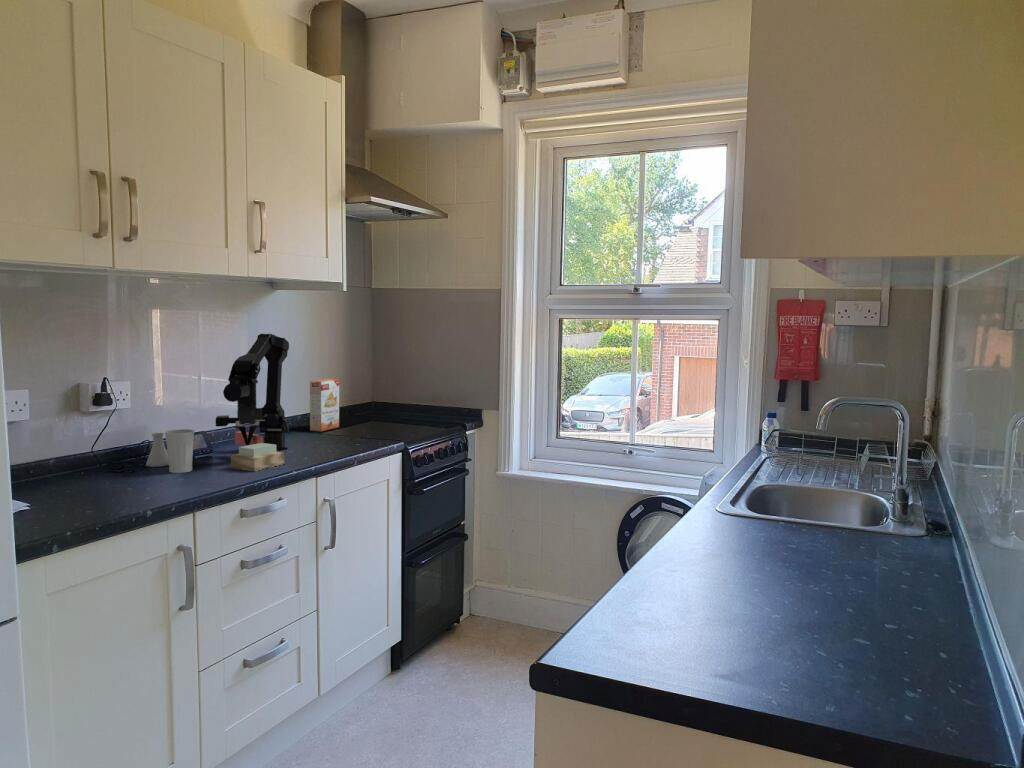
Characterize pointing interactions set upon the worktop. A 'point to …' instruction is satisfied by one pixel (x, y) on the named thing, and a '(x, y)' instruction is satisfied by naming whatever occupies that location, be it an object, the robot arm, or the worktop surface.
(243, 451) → the green soap bar
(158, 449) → the flask
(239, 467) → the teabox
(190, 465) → the cup
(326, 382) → the cracker box
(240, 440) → the red rectangular slab
